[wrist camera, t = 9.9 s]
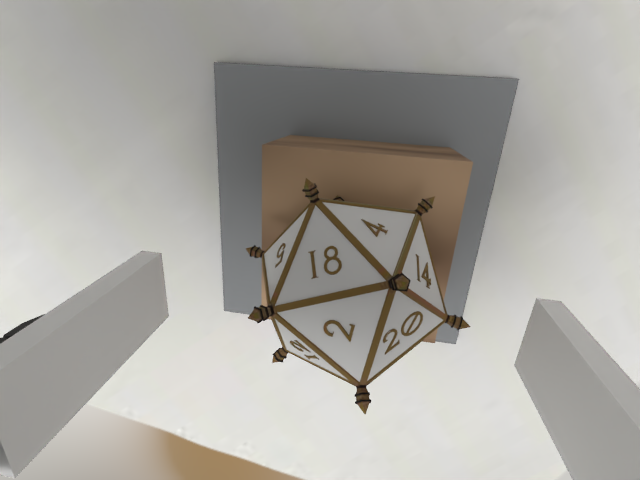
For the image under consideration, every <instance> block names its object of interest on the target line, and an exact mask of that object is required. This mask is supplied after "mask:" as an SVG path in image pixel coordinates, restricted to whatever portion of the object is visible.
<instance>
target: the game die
mask: <svg viewBox="0 0 640 480" xmlns="http://www.w3.org/2000/svg"><path fill="white" fill-rule="evenodd" d="M316 188H317V185H316V184H315V183H312V182H311V181H310V180H308V179H307V178H306V180H305V185H304V189H303V190H302V191H303V192H305V194H306V195H305V197H308V199H309V200H310V203H309V204H308V205H307V206H306V207H305V208H304V209H303V210H302V212H301V213H300V214H299V215H298V216H297V217H296V218H295V219H294V220H293V221H292V222H291V223H290V224H289V226H288V227H287V228H286V229H285V230H284V231H283V232H282V233H281V234H280V235H279V236H278V237H277V238H276V240H275V241H274V242H273V243H272V244H271V245H270V246H269V247H268V248H267V249H266V250H265V251H263V250H261V248H260V247H256V245H254V246H253V247H249V248H246V250H247V252H248V253H249V255H250V257H254V258H259V257H260V258H262V266H263V274H264V282H265V291H266V299H267V306H263V305H260V307H256V306H255V307H254V310H253V311H252V313H251V314H250V316H249V317H248V318H249V319H251V320H254V321H257V323H260V322H261V321H262V320H263V321H265V320H266V319H268V318H269V316H270V317H271V320H272V322H273V324H274V327H275V329H276V332H277V334H278V336H279V339H280V341H281V344H282V346H283V347H282V348H279V349H278V350H277V351H276V352H275V353H274V354H273V355H274V356H273V362H272V363H274V362H283V359H284V358H286V355H287V353H288V352H289V353H291V354H293V355H295V356H297V357H299V358H301V359H303V360H305V361H307V362H308V363H310V364H312V365H314V366H316V367H318V368H320V369H322V370H324V371H326V372H328V373H330V374H332V375H334V376H336V377H338V378H340V379H342V380H344V381H346V382H348V383H350V384H352V385H354V386H356V387H357V392H356V394H355V396H356V402H355V404H358V406H359V407H360V408H361V410H362V411H363V412H364V414H366V411H367V408H368V405H369V403H371V400H369V395H370V393H369V392H368V391H367V389H366V386H367V385H368V384H369V383H371V382H372V381H373V380H374V379H376V378H377V377H378V376H379V375H381V374H382V373H383V372H384V371H386V370H387V369H388V368H389V367H390V366H392V365H393V364H394V363H395V362H397V361H398V360H399V359H400V358H402V357H403V356H404V355H405V354H407V353H408V352H409V351H410V350H412V349H413V348H414V347H415V346H416V345H418V344H419V343H420V342H421V341H423V340H424V339H425V338H426V337H428V336H429V335H430V334H431V333H433V332H434V331H435V330H436V329H438V328H439V327H440V326H441V325H442V324H444V323H447V324H449V325H450V326H451V328H453V327H454V328H456V329H457V330H459V329H462V328H467V327H470V326H469V325H468V324H467V323H466V322H465V321H464V320H463V318H462V316H460V317H458V316H456V315H455V314H454V315H448V314H447V311H446V308H445V304H444V300H443V296H442V293H441V289H440V285H439V281H438V278H437V274H436V270H435V267H434V263H433V259H432V255H431V252H430V248H429V244H428V240H427V237H426V233H425V229H424V225H423V222H422V218H421V216H422V214H424V213H427V212H428V210H429V209H430V208H431V209H432V208H433V207H432V205H433V201H434V198H435V196H434V197H430V198H426V199H423V198H422V201H421V202H420V204H419V203H418V207H417V209H416V210H407V209H400V208H392V207H384V206H377V205H369V204H361V203H353V202H346V201H344V200H343V199H342V198H341V197H339V196H338V195H337V196H336V197H335V198H334V199H333V200H330V199H323V198H318V193H319V191H318V190H317V189H316Z"/></svg>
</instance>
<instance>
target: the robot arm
mask: <svg viewBox="0 0 640 480" xmlns="http://www.w3.org/2000/svg"><path fill="white" fill-rule="evenodd" d="M168 316H169V314H168V306H167V297H166V289H165V280H164V272H163V263H162V255H161V253H155V252H147V251H141V252H140V253H138V254H136V255H135V256H133V257H132V258H130V259H129V260H127V261H126V262H124V263H123V264H121V265H120V266H118V267H117V268H115V269H114V270H112V271H111V272H109V273H108V274H106V275H104V276H103V277H101V278H100V279H98V280H97V281H95V282H94V283H92V284H91V285H89V286H88V287H86V288H85V289H83V290H82V291H80V292H79V293H77V294H76V295H74V296H72V297H71V298H69V299H68V300H66V301H65V302H63V303H62V304H60V305H59V306H57V307H56V308H54V309H53V310H51V311H50V312H48V313H47V314H44V315H41V316H39V317H36V318H34V319H32V320H29V321H27V322H24V323H22V324H20V325H19V326H17V327H16V328H14V329H13V330H11V331H9V332H8V333H6V334H5V335H4V337H3V338H0V475H1V476H7V477H11V478H16V477H17V476H18V474H19V473H20V472H21V471H22V470H23V469H24V468H25V467H26V466H27V465H28V464H29V463H30V462H31V461H32V459H34V458H35V457H36V455H37V454H38V453H39V452H40V451H41V450H42V449H43V448H44V447H45V446H46V445H47V444H48V443H49V442H50V441H51V439H53V437H54V436H56V434H57V433H58V432H59V431H60V430H61V429H62V428H63V427H64V426H65V425H66V424H67V423H68V422H69V421H70V420H71V419H72V418H73V417H74V415H75V414H76V413H77V412H78V411H79V410H80V409H81V408H82V407H83V406H84V405H85V404H86V403H87V402H88V401H89V400H90V399H91V398H92V397H93V395H94V394H95V393H96V392H97V391H98V390H99V389H100V388H101V387H102V386H103V385H104V384H105V383H106V382H107V381H108V380H109V379H110V378H111V377H112V375H113V374H114V373H115V372H116V371H117V370H118V369H119V368H120V367H121V366H122V365H123V364H124V363H125V362H126V361H127V360H128V359H129V358H130V357H131V355H132V354H133V353H134V352H135V351H136V350H137V349H138V348H139V347H140V346H141V345H142V344H143V343H144V342H145V341H146V340H147V339H148V338H149V337H150V335H151V334H152V333H153V332H154V331H155V330H156V329H157V328H158V327H159V326H160V325H161V324H162V323H163V322H164V321H165V320H166V319H167V318H168ZM515 367H516V369H517V371H518V373H519V375H520V377H521V379H522V381H523V383H524V385H525V387H526V389H527V391H528V393H529V395H530V397H531V399H532V401H533V403H534V405H535V407H536V409H537V410H538V412H539V414H540V416H541V418H542V420H543V422H544V424H545V426H546V428H547V430H548V432H549V434H550V436H551V438H552V440H553V442H554V444H555V446H556V448H557V450H558V452H559V454H560V456H561V458H562V460H563V461H564V463H565V465H566V467H567V469H568V471H569V473H570V475H571V477H572V479H573V480H640V389H639V388H638V387H637V385H636V384H635V383H634V382H633V381H632V380H631V379H630V378H629V377H628V375H627V374H626V373H625V372H624V371H623V370H622V369H621V368H620V366H619V365H618V364H617V363H616V362H615V361H614V360H613V359H612V358H611V356H610V355H609V354H608V353H607V352H606V351H605V350H604V349H603V347H602V346H601V345H600V344H599V343H598V342H597V341H596V340H595V339H594V337H593V336H592V335H591V334H590V333H589V332H588V331H587V330H586V329H585V327H584V326H583V325H582V324H581V323H580V322H579V321H578V320H577V318H576V317H575V316H574V315H573V314H572V313H571V312H570V311H569V310H568V308H567V307H566V306H565V305H564V304H563V303H562V302H561V301H554V300H546V299H537V298H536V301H535V304H534V307H533V310H532V313H531V316H530V319H529V322H528V325H527V328H526V331H525V334H524V337H523V340H522V343H521V346H520V349H519V352H518V356H517V359H516V362H515Z"/></svg>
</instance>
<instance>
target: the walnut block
mask: <svg viewBox="0 0 640 480" xmlns="http://www.w3.org/2000/svg"><path fill="white" fill-rule="evenodd" d="M472 165H473V162H472V161H471V160H469V159H467V158H466V157H464V156H463V155H461V154H460V153H458V152H456V151H455V150H453V149H452V148H450V147H438V146H425V145H412V144H399V143H387V142H374V141H361V140H348V139H336V138H323V137H310V136H297V135H289V136H286V137H283V138H280V139H277V140H274V141H271V142H268V143H265V144H262V250H263V251H265V250H266V249H267V248H268V247H269V246H270V245H271V244H272V243H273V242H274V241H275V240H276V238H277V237H278V236H279V235H280V234H281V233H282V232H283V231H284V230H285V229H286V228H287V227H288V226H289V224H290V223H291V222H292V221H293V220H294V219H295V218H296V217H297V216H298V215H299V214H300V213H301V212H302V210H303V209H304V208H305V207H306V206H307V205H308V204H309V203H310V200H309V199H308V197H305V195H306V194H305V192H303V191H302V190H303V189H304V185H305V180H306V178H307V179H308V180H310V181H311V182H312V183H315V184H316V185H317V188H316V189H317V190H318V191H319V193H318V198H323V199H330V200H333V199H334V198H335V197H336V196H337V195H338V196H339V197H341V198H342V199H343V200H344V201H346V202H353V203H361V204H369V205H377V206H384V207H392V208H400V209H407V210H416V209H417V207H418V203H419V204H420V202H421V201H422V198H423V199H426V198H430V197H434V196H435V198H434V201H433V205H432V207H433V208H432V209H431V208H430V209H429V210H428V212H427V213H424V214H422V216H421V218H422V222H423V225H424V229H425V233H426V237H427V240H428V244H429V248H430V252H431V255H432V259H433V263H434V267H435V270H436V274H437V278H438V281H439V285H440V289H441V293H442V296H443V300H444V297H445V293H446V288H447V283H448V278H449V274H450V269H451V264H452V260H453V255H454V250H455V245H456V241H457V236H458V231H459V227H460V222H461V217H462V212H463V208H464V203H465V198H466V194H467V189H468V184H469V180H470V175H471V170H472ZM262 305H263V306H267V299H266V291H265V282H264V274H263V266H262ZM268 319H271V317H270V316H269V318H268ZM437 330H438V329H436V330H435V331H434V332H433V333H431V334H430V335H429V336H428V337H426V338H425V339H424V340H423V341H424V342H431V343H435V340H436V335H437Z"/></svg>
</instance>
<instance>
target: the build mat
mask: <svg viewBox="0 0 640 480" xmlns="http://www.w3.org/2000/svg"><path fill="white" fill-rule="evenodd" d="M214 73H215V98H216V123H217V147H218V172H219V196H220V221H221V246H222V270H223V295H224V311H229V312H236V313H243V314H251V313H252V311H253V310H254V307H255V306H256V307H260V305H262V258H260V257H259V258H254V257H250V255H249V253H248V252H247V250H246V248H249V247H253V246H254V245H256V247H260V248H261V250H262V144H265V143H268V142H271V141H274V140H277V139H280V138H283V137H286V136H289V135H297V136H310V137H323V138H336V139H348V140H361V141H374V142H387V143H399V144H412V145H425V146H438V147H450V148H452V149H453V150H455V151H456V152H458V153H460V154H461V155H463V156H464V157H466V158H467V159H469V160H471V161H472V162H473V165H472V170H471V175H470V180H469V184H468V189H467V194H466V198H465V203H464V208H463V212H462V217H461V222H460V227H459V231H458V236H457V241H456V245H455V250H454V255H453V260H452V264H451V269H450V274H449V278H448V283H447V288H446V293H445V297H444V304H445V308H446V311H447V314H448V315H454V314H455V315H456V316H458V317H460V316H463V312H464V307H465V303H466V299H467V295H468V291H469V286H470V282H471V278H472V274H473V270H474V265H475V261H476V257H477V253H478V249H479V244H480V240H481V236H482V232H483V228H484V223H485V219H486V215H487V211H488V207H489V202H490V198H491V194H492V190H493V186H494V181H495V177H496V173H497V169H498V165H499V160H500V156H501V152H502V148H503V144H504V139H505V135H506V131H507V127H508V123H509V118H510V114H511V110H512V106H513V102H514V97H515V93H516V89H517V85H518V80H519V79H514V78H495V77H477V76H458V75H440V74H421V73H403V72H384V71H366V70H348V69H329V68H311V67H292V66H274V65H255V64H237V63H219V62H214ZM458 333H459V330H457V329H456V328H454V327H453V328H451V326H450V325H449V324H447V323H444V324H442V325H441V326H440V327H439V328H438V330H437V335H436V340H435V341H437V342H444V343H451V344H456V341H457V337H458Z"/></svg>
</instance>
